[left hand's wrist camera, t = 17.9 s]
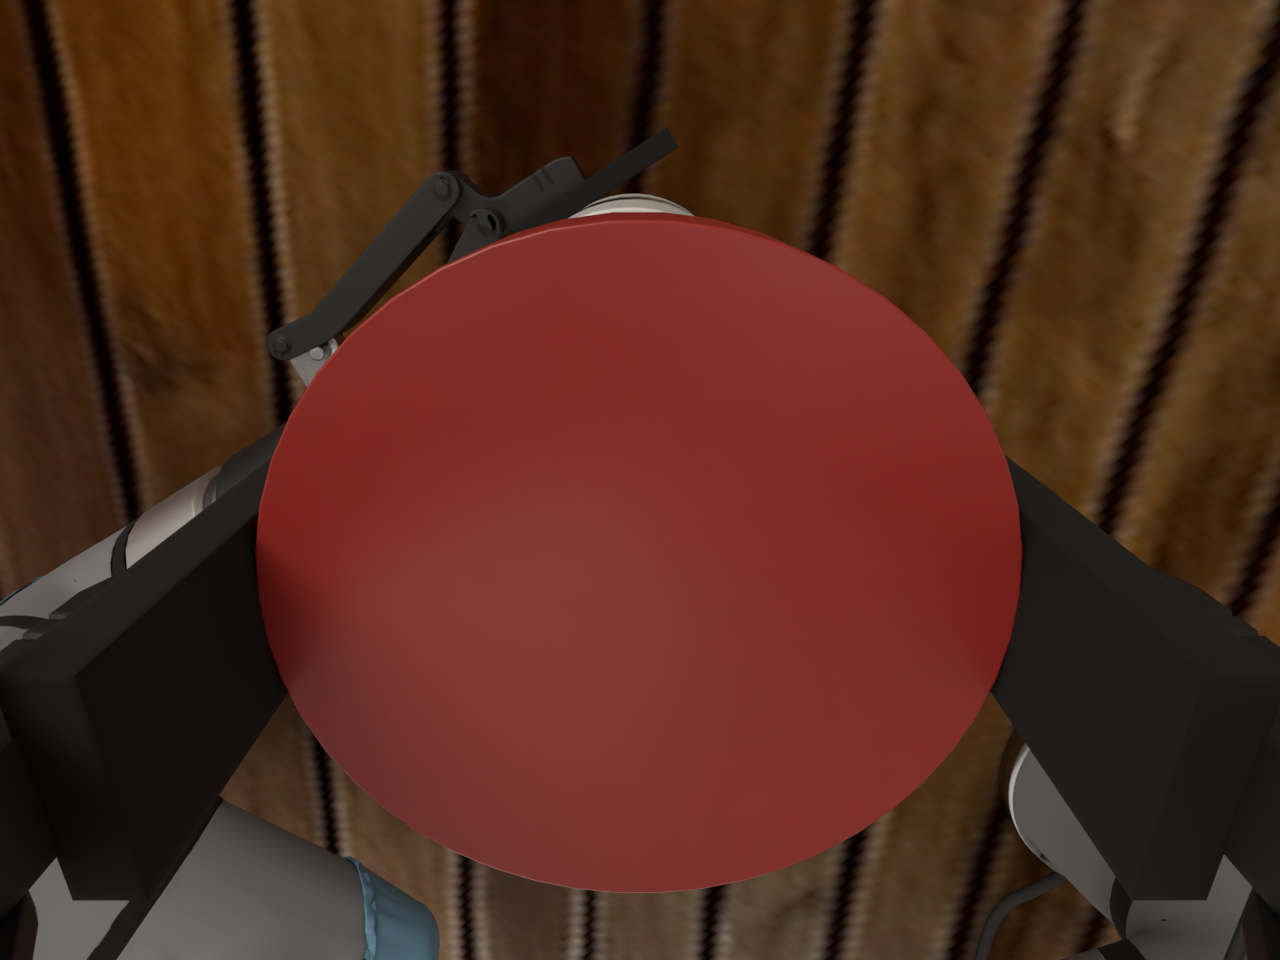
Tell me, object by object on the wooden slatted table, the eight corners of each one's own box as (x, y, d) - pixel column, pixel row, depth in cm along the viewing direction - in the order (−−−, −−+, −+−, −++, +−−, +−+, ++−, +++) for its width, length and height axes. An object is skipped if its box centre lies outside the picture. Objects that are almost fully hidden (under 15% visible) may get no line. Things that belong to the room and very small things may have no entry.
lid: (235, 238, 10) (153, 251, 8) (1001, 185, 10) (1076, 187, 8) (379, 819, 14) (343, 909, 12) (940, 790, 14) (983, 878, 12)
